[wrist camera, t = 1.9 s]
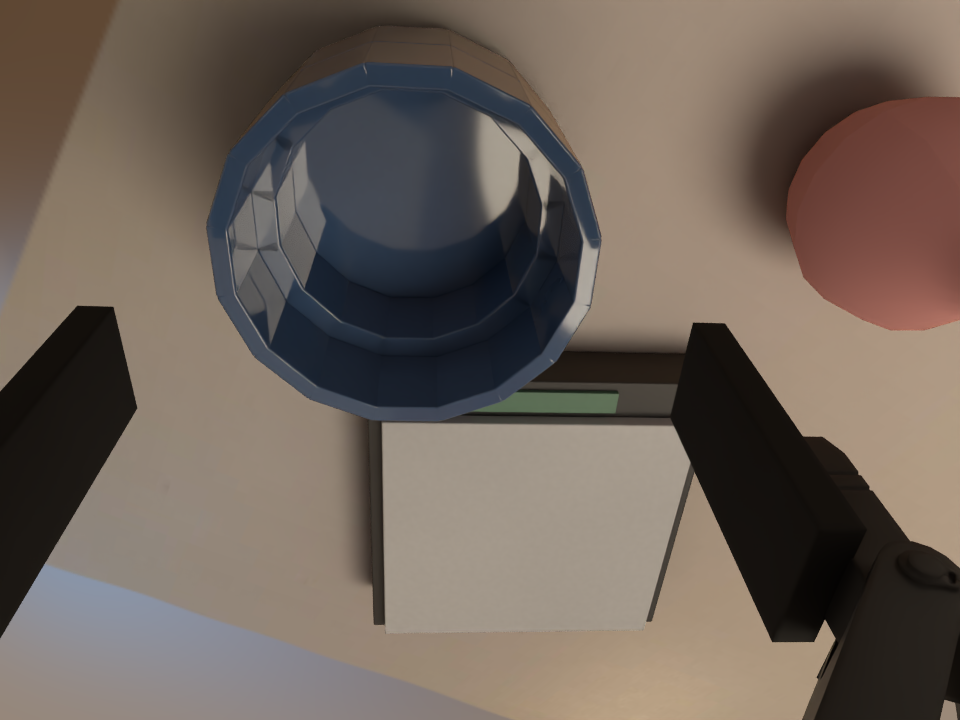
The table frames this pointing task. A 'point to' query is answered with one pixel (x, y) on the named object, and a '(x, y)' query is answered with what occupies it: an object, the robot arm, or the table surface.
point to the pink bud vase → (884, 213)
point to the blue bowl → (404, 228)
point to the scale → (532, 504)
